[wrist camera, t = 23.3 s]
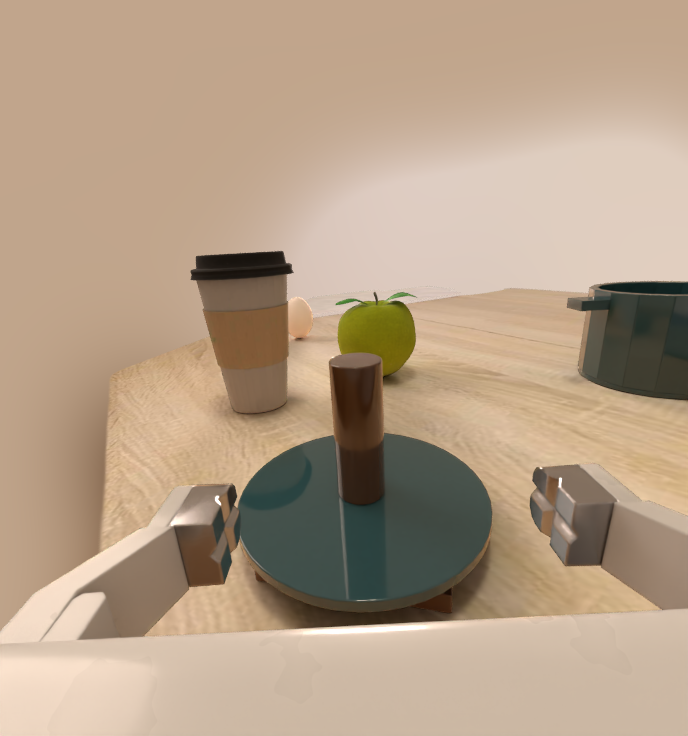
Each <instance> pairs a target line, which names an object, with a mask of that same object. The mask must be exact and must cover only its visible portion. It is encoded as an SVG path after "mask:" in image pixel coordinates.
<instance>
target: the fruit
mask: <svg viewBox="0 0 688 736" xmlns="http://www.w3.org/2000/svg"><path fill="white" fill-rule="evenodd" d="M374 296H375V299H376V301H364V302H362V301H360V300H357V299H346V300H343V301H340V302H338V303H336V305H340V304H345V303H349V302H353V301H358V302H361V303H360V304H358V305H356V306H354V307H352V308H350V309H349V310H347V311H346V312H345V313H344V314H343V316H342V317H341V319H340V321H339V325H338V344H339V348H340V351H341V354H348V353H370V354H374V355H378V356H380V357H381V358H382V371H383V376H386V375H390V374H392V373H394V372H396V371H397V370H399V369H400V368H401V367H402V366H403V365H404V363H405V362H406V361H407V360H408V358H409V357H410V355H411V354H412V352H413V350H414V347H415V342H416V334H415V326H414V321H413V317H412V315H411V313H410V311H409V309H408V308H407V306H406V305H405V304H404V303H403V302H400V301H391V302H389V301H388V300H390V299H393V298H397V297H403V296H413V295H410V294H408V293H404V292H400V293H397V294H394V295H393V296H391V297H390V298H388V299H387V300H386V301H385V300H381V301H378V299H377V295H376V292H374ZM413 297H415V296H413ZM416 298H417V297H416Z"/></svg>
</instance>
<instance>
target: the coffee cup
mask: <svg viewBox="0 0 688 736" xmlns="http://www.w3.org/2000/svg"><path fill="white" fill-rule="evenodd" d="M291 273H293V270H292V265H291V264H290V263H286V261H285V257H284V253H283V251H277V252H276V251H275V252H256V253H239V254H222V255H221V254H220V255H205V256H196V269H194V270H191V274H192V276H191V280H196V281H197V284H198V288H199V292H200V295H201V299H202V302H203V306H204V309H203V312H204V316H205V319H206V323H207V327H208V330H209V334H210V338H211V341H212V345H213V348H214V352H215V355H216V359H217V363H218V365H219V366H220V368H221V371H222V375H223V378H224V382H225V385H226V389H227V392H228V396H229V399H230V403H231V406H232V409H233V410H234V411H236V412H239V413H262V412H267V411H271V410H274V409H277V408H279V407H281V406H283V405H284V404H285V402H286V401H287V357H288V355H289V330H288V301H287V274H291Z"/></svg>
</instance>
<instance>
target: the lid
mask: <svg viewBox="0 0 688 736" xmlns="http://www.w3.org/2000/svg"><path fill="white" fill-rule="evenodd" d="M329 372H330V386H331V400H332V414H333V428H334V435H332V436H327V437H323V438H319V439H315V440H312V441H309V442H306V443H303V444H301V445H298V446H296V447H293V448H291V449H289V450H287V451H285V452H283V453H282V454H280V455H278V456H277V457H275V458H274V459H272V460H271V461H270V462H268V463H267V464H266V465H264V466H263V467H262V468H261V469H260V470H259V471H258V472H257V473H256V474H255V475H254V476H253V478H252V479H251V480H250V481H249V483H248V484H247V486H246V487H245V489H244V491H243V493H242V495H241V498H240V500H239V503H238V508H237V509H238V510H239V511H240V516H241V532H240V539H239V542H240V545H241V548H242V550H243V553H244V555H245V557H246V558H247V560H248V562H249V563H250V565H251V566H252V568H253V569H254V570H255V571H256V572H257V573H258V574H259V575H260V576H261V577H262V578H263V579H264V580H265V581H266V582H268V583H269V584H270V585H272V586H273V587H275V588H276V589H277V590H279V591H281V592H282V593H284V594H286V595H288V596H290V597H292V598H294V599H296V600H299V601H302V602H304V603H307V604H310V605H313V606H316V607H321V608H326V609H331V610H335V611H346V612H358V613H361V612H383V611H388V610H394V609H400V608H405V607H409V606H412V605H415V604H418V603H422V602H425V601H427V600H429V599H431V598H434V597H436V596H438V595H440V594H442V593H444V592H446V591H447V590H449V589H450V588H452V587H453V586H455V585H456V584H458V583H459V582H460V581H461V580H463V579H464V578H465V577H466V576H467V575H468V574H469V573H470V572H471V571H472V570H473V569H474V568H475V566H476V565H477V564H478V562H479V561H480V560H481V558H482V557H483V554H484V552H485V550H486V548H487V546H488V543H489V540H490V536H491V530H492V507H491V501H490V498H489V496H488V493H487V491H486V489H485V487H484V485H483V484H482V482H481V480H480V479H479V478H478V476H477V475H476V474H475V473H474V472H473V471H472V470H471V469H470V468H469V467H468V466H467V465H466V464H465V463H464V462H462V461H461V460H460V459H458V458H457V457H456V456H454V455H452V454H451V453H449V452H447V451H445V450H443V449H441V448H439V447H437V446H435V445H432V444H430V443H427V442H424V441H421V440H418V439H414V438H411V437H406V436H401V435H395V434H388V433H384V414H383V371H382V358H381V357H380V356H378V355H374V354H370V353H348V354H342V355H339V356H336V357H333V358H332V359H330V361H329Z"/></svg>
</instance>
